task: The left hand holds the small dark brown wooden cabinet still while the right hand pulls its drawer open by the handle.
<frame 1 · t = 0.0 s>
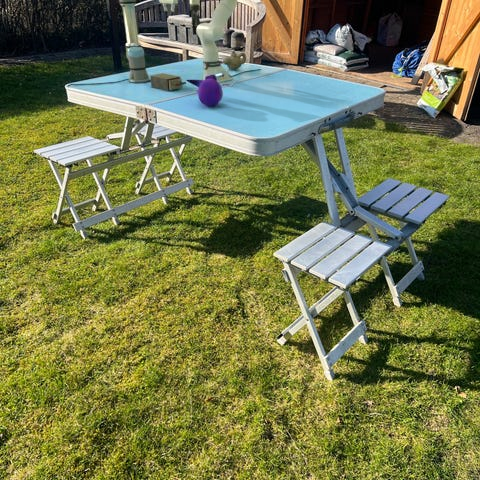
left hand: (196, 35, 349), 28 cm above the table, tool pointing down, fingers open, 13 cm apart
right hand: (169, 11, 296), 48 cm above the table, tool pointing down, fingers open, 8 cm apart
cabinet: (166, 88, 317), on the table
drawer: (170, 83, 311), point 4 cm above the table, slide at 0.9 cm
teapot: (234, 70, 372), on the table
toy: (206, 104, 274), on the table
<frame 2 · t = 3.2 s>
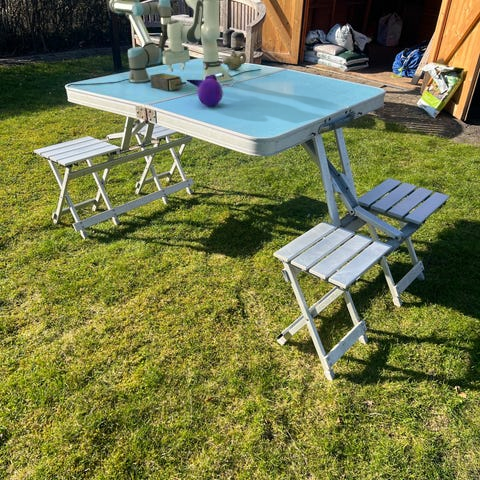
left hand: (169, 56, 323), 18 cm above the table, tool pointing down, fingers open, 13 cm apart
right hand: (177, 70, 300), 13 cm above the table, tool pointing down, fingers open, 8 cm apart
nothing on the table moved.
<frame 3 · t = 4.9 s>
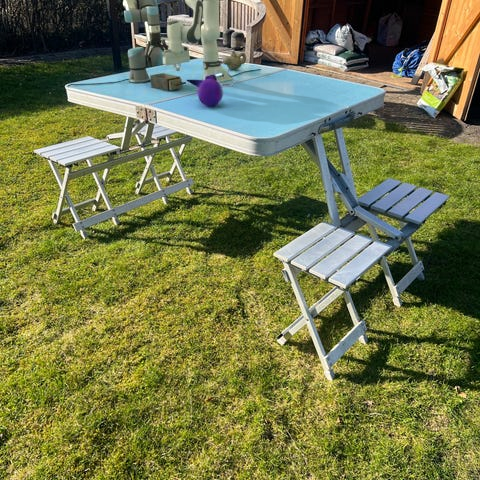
left hand: (158, 65, 314), 14 cm above the table, tool pointing down, fingers open, 13 cm apart
right hand: (177, 70, 301), 13 cm above the table, tool pointing down, fingers closed
nothing on the table moved.
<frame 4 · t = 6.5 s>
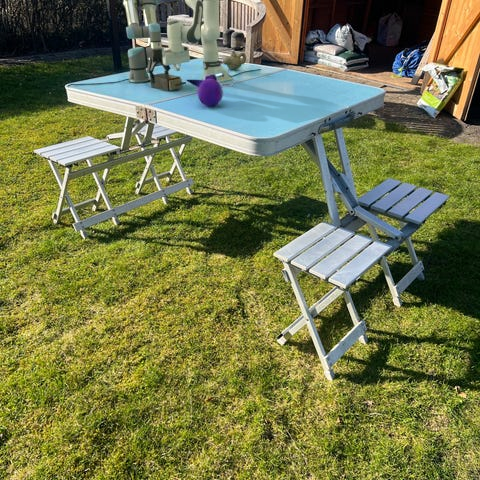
left hand: (160, 81, 319), 3 cm above the table, tool pointing down, fingers closed on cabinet, 11 cm apart
right hand: (177, 70, 301), 13 cm above the table, tool pointing down, fingers closed
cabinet: (166, 88, 317), on the table, touching left hand
everything else where it was.
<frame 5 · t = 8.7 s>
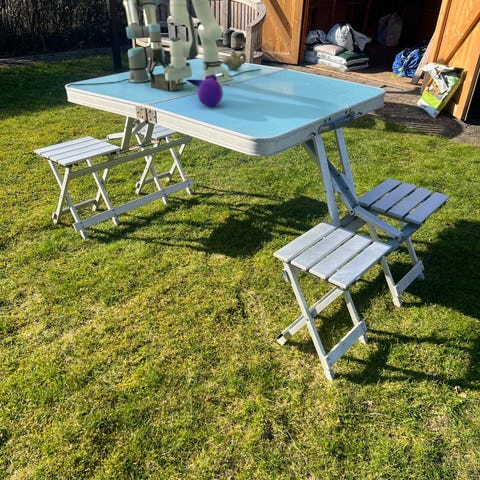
left hand: (160, 81, 319), 3 cm above the table, tool pointing down, fingers closed on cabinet, 11 cm apart
right hand: (179, 86, 305), 3 cm above the table, tool pointing down, fingers closed, pressing on drawer
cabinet: (166, 88, 317), on the table, touching left hand
drawer: (170, 83, 311), point 4 cm above the table, slide at 1.6 cm, touching right hand
everything else where it was.
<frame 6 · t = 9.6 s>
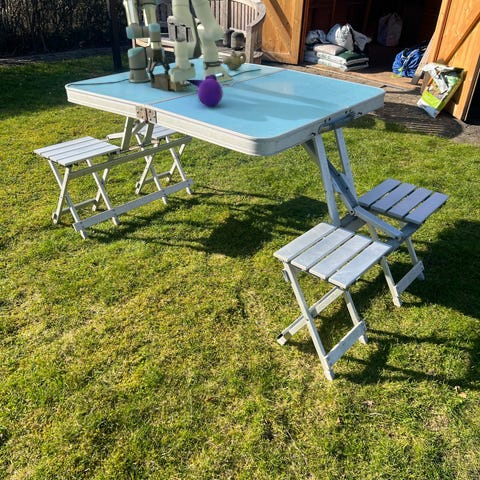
left hand: (160, 81, 319), 3 cm above the table, tool pointing down, fingers closed on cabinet, 11 cm apart
right hand: (184, 87, 302), 3 cm above the table, tool pointing down, fingers closed
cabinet: (166, 88, 317), on the table, touching left hand
drawer: (175, 84, 307), point 4 cm above the table, slide at 6.7 cm, touching right hand
everything else where it was.
when the left hand's fingers open (4 cm above the table, at t = 11.4 s): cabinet stays where it is, on the table.
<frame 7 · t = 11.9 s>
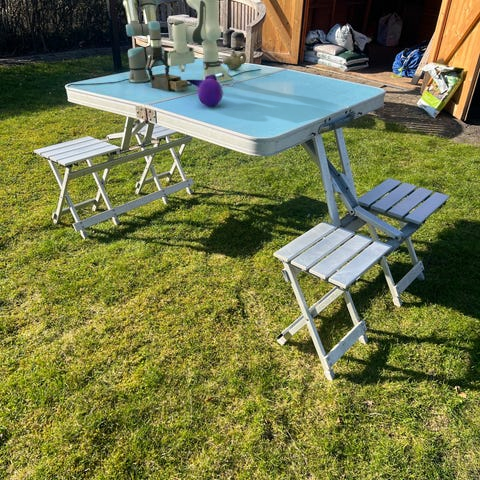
left hand: (159, 78, 318), 5 cm above the table, tool pointing down, fingers open, 13 cm apart
right hand: (182, 71, 297), 13 cm above the table, tool pointing down, fingers closed
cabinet: (166, 88, 316), on the table
drawer: (175, 84, 307), point 4 cm above the table, slide at 6.9 cm
everything else where it was.
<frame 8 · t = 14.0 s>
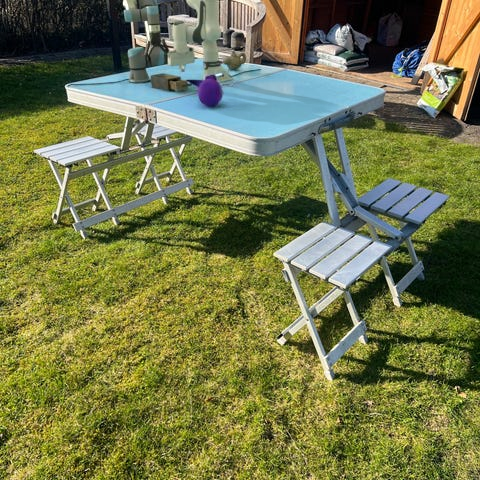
left hand: (158, 65, 313), 14 cm above the table, tool pointing down, fingers open, 13 cm apart
right hand: (182, 71, 297), 13 cm above the table, tool pointing down, fingers closed
nothing on the table moved.
at the end: drawer slide at 6.9 cm; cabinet tilted 0°; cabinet never tilted more than 3° during the clip; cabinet moved 0.5 cm from its start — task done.
